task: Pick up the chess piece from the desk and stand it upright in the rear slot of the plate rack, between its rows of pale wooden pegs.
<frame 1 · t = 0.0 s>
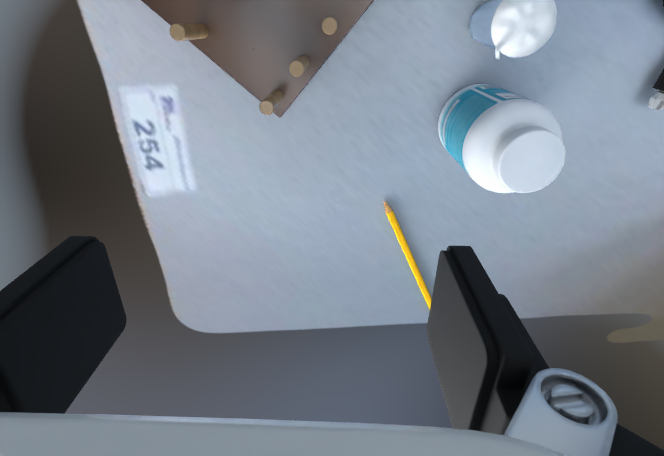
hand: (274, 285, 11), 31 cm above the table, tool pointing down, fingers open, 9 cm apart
pencil: (412, 262, 48), on the table
pill bottle: (472, 120, 39), on the table
milkshake: (482, 26, 35), on the table
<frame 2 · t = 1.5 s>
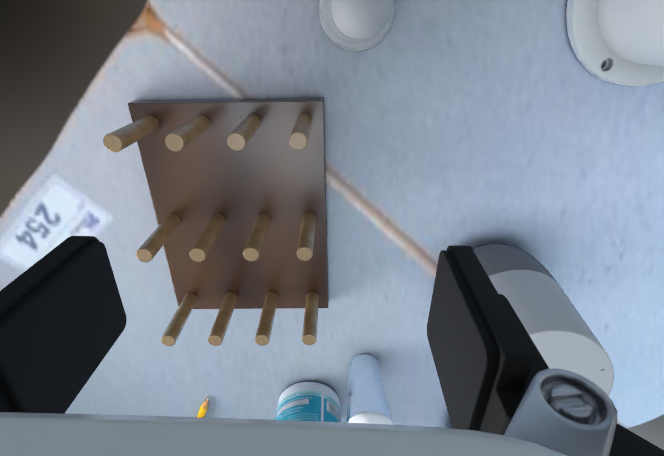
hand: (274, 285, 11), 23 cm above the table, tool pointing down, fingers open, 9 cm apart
pencil: (191, 439, 51), on the table
smart speaker: (483, 274, 38), on the table
chess piece: (356, 10, 28), on the table
pill bottle: (310, 398, 47), on the table
milkshake: (360, 362, 44), on the table
plate rack: (244, 213, 35), on the table
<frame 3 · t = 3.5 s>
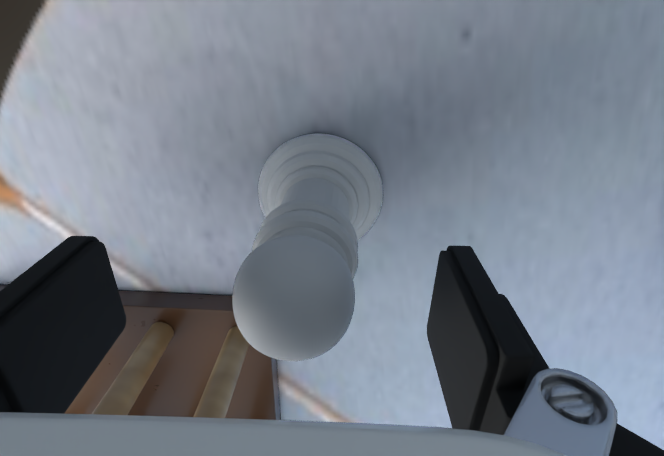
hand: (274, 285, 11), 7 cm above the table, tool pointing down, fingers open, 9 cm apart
chess piece: (321, 189, 17), on the table
plate rack: (165, 415, 25), on the table
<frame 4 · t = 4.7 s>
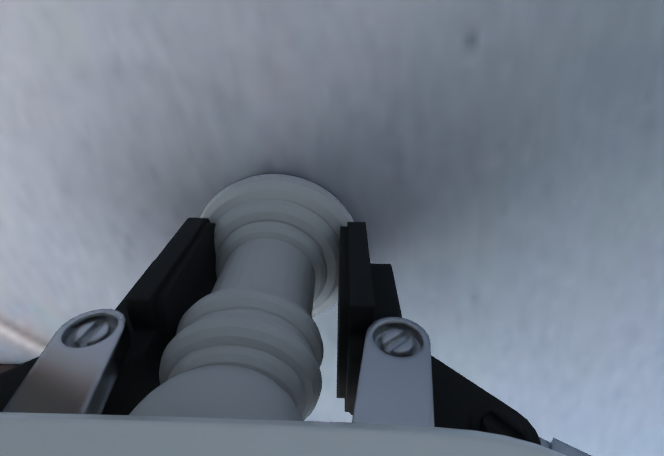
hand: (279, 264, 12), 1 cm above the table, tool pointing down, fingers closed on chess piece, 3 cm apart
chess piece: (281, 241, 13), on the table, touching gripper
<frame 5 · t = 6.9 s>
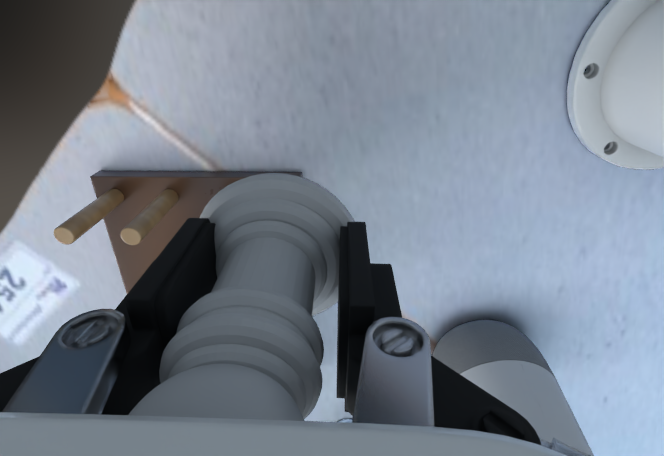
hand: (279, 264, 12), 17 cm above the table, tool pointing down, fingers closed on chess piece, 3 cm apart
smart speaker: (474, 345, 36), on the table
chess piece: (281, 241, 13), point 15 cm above the table, touching gripper
plate rack: (218, 282, 33), on the table
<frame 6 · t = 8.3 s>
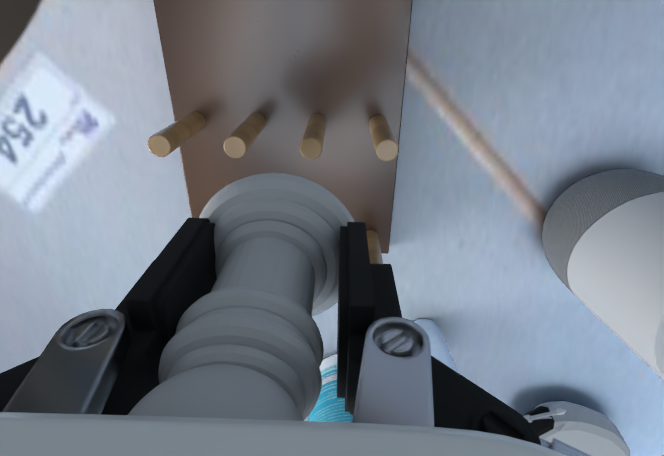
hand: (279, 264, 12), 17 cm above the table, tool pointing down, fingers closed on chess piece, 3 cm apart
smart speaker: (591, 215, 30), on the table
chess piece: (281, 241, 13), point 16 cm above the table, touching gripper
pill bottle: (349, 374, 38), on the table
milkshake: (416, 329, 35), on the table
plate rack: (289, 118, 27), on the table
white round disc: (531, 430, 42), on the table
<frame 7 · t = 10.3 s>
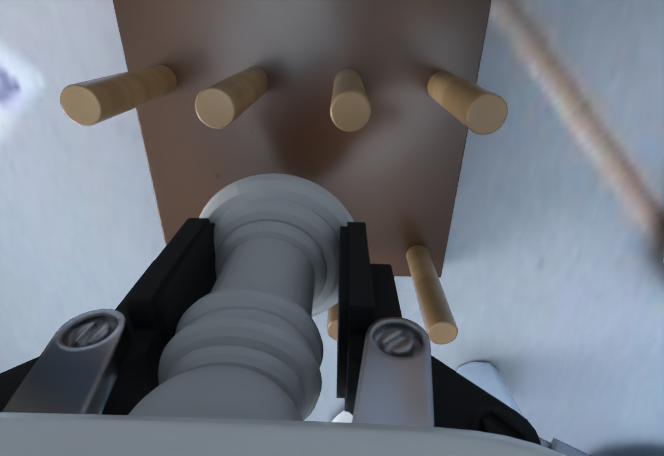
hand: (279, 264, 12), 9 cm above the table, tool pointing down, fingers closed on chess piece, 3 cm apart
chess piece: (281, 241, 13), point 8 cm above the table, touching gripper
milkshake: (467, 374, 27), on the table
plate rack: (304, 78, 18), on the table
when the fingers open (2 cm above the table, at t = 12.2 s): chess piece stays where it is, resting on plate rack.
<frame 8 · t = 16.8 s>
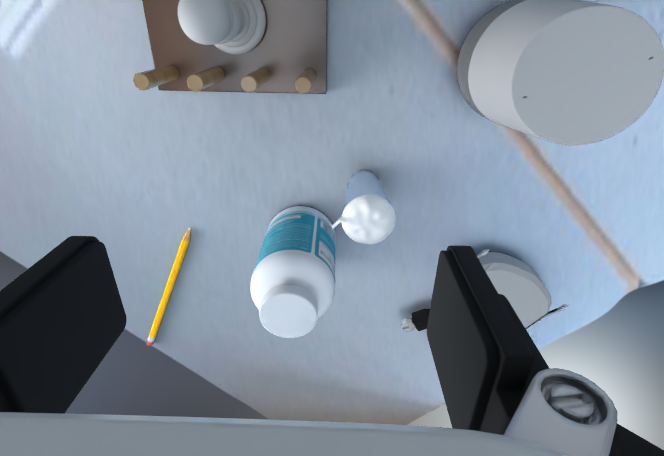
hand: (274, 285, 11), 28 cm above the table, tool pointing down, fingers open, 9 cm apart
pencil: (170, 287, 47), on the table
smart speaker: (502, 59, 34), on the table
chess piece: (235, 18, 32), point 1 cm above the table, touching plate rack
pill bottle: (302, 233, 43), on the table
milkshake: (359, 183, 40), on the table
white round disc: (470, 296, 46), on the table
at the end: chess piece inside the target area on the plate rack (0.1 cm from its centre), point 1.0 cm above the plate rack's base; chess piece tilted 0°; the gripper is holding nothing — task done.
